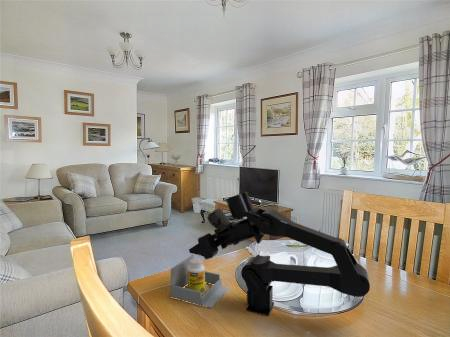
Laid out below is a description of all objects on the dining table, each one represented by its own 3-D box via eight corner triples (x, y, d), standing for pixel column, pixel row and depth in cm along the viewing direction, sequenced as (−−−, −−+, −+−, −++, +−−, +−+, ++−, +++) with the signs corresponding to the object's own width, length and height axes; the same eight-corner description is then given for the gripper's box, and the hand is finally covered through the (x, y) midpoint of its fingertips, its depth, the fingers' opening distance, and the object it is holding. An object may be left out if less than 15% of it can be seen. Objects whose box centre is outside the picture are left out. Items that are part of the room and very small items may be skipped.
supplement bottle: (187, 297, 82) (187, 264, 81) (187, 288, 87) (187, 257, 87) (205, 295, 83) (205, 263, 82) (204, 287, 88) (204, 256, 88)
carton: (229, 288, 87) (229, 261, 87) (211, 309, 75) (211, 278, 75) (192, 279, 93) (192, 254, 93) (170, 298, 81) (169, 269, 81)
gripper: (240, 200, 87) (202, 216, 94) (214, 212, 70) (170, 229, 77) (253, 233, 86) (214, 246, 92) (230, 252, 69) (184, 266, 75)
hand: (197, 246), depth 84 cm, fingers open, 9 cm apart
